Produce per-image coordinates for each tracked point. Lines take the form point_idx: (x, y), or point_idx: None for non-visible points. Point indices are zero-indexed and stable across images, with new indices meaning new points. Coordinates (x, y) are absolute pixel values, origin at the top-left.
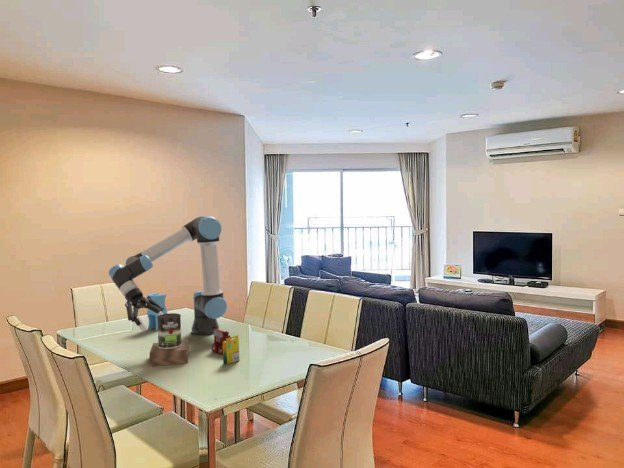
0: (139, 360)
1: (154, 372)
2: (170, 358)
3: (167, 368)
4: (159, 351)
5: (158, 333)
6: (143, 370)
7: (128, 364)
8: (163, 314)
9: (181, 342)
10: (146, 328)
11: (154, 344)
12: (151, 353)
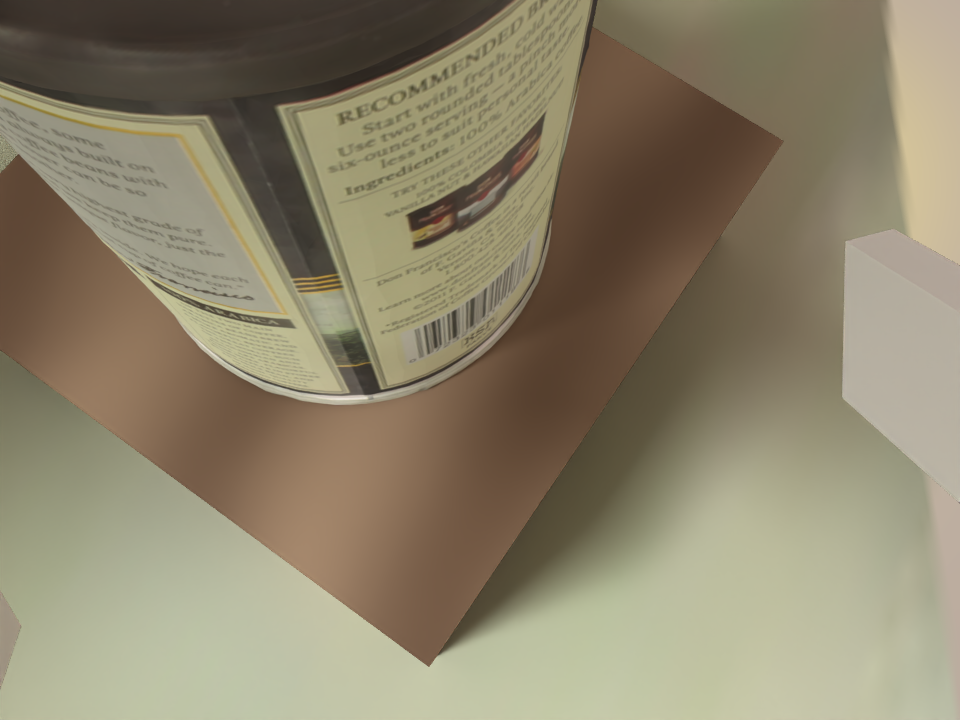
0: (709, 599)
1: (778, 11)
2: None
3: (603, 13)
4: (634, 84)
5: (572, 114)
6: (845, 165)
7: (904, 550)
8: (159, 18)
9: (84, 245)
10: (849, 259)
11: (474, 534)
12: (753, 130)
